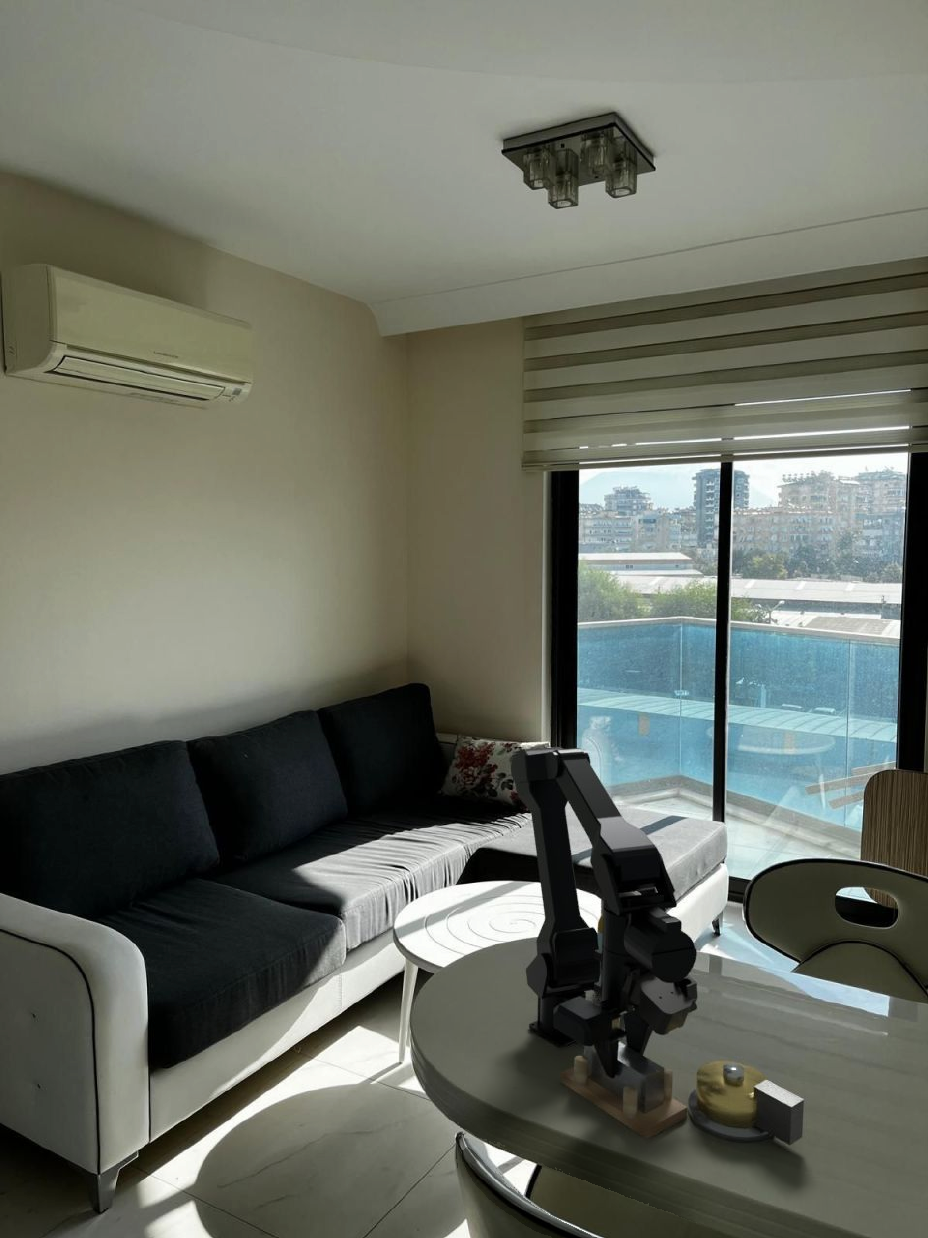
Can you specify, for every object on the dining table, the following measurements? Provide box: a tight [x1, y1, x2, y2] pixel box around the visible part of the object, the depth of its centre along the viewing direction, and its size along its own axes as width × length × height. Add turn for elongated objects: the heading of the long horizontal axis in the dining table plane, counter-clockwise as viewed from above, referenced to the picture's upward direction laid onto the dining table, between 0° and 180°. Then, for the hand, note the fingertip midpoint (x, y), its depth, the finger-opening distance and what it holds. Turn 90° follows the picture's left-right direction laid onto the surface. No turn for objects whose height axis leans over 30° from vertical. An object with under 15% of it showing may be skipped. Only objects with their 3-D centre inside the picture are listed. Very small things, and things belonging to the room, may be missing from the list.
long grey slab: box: [583, 1042, 665, 1114], centre depth 112 cm, size 10×3×4 cm, turn 38°
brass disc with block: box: [695, 1060, 805, 1146], centre depth 108 cm, size 13×8×4 cm
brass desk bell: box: [687, 1062, 772, 1143], centre depth 109 cm, size 10×10×6 cm
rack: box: [560, 1040, 688, 1140], centre depth 112 cm, size 14×8×4 cm, turn 38°
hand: (622, 1071), depth 112 cm, fingers open, 4 cm apart
